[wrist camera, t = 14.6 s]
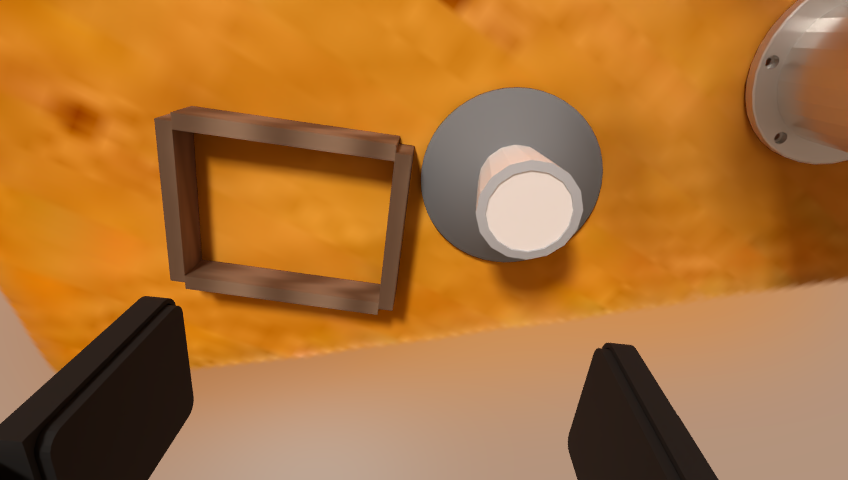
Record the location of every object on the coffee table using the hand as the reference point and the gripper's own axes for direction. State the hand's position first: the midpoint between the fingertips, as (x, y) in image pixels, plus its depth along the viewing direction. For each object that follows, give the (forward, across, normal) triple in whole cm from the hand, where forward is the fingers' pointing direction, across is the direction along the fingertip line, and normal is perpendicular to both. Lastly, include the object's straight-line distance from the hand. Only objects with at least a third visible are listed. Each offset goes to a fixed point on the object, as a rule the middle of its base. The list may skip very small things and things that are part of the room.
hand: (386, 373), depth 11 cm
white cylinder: (+27, -8, +3) cm, 28 cm away
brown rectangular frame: (+28, +10, +7) cm, 30 cm away
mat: (+27, -7, +3) cm, 29 cm away
